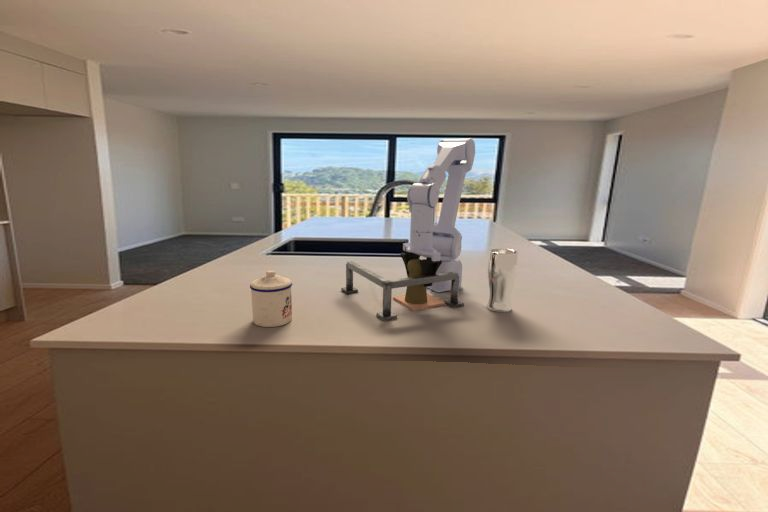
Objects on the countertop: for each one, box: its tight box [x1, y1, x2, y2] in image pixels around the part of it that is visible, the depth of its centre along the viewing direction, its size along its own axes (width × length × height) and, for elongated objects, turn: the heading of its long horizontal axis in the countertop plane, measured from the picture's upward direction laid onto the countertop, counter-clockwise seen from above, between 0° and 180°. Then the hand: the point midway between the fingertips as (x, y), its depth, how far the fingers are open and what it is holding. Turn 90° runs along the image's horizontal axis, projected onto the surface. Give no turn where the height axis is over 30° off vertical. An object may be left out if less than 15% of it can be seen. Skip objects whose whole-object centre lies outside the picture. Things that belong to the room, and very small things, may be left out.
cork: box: [404, 258, 428, 304], centre depth 103 cm, size 6×6×11 cm
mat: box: [392, 293, 446, 312], centre depth 104 cm, size 10×10×1 cm
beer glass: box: [486, 248, 519, 313], centre depth 99 cm, size 7×7×15 cm
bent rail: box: [340, 260, 465, 322], centre depth 106 cm, size 24×26×9 cm
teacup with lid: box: [249, 269, 293, 328], centre depth 90 cm, size 12×9×12 cm
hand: (419, 282), depth 103 cm, fingers open, 7 cm apart
